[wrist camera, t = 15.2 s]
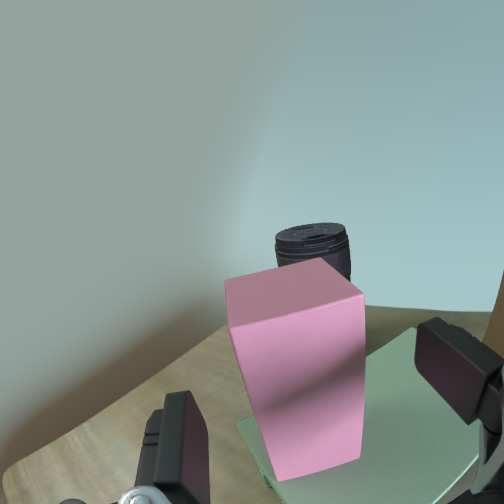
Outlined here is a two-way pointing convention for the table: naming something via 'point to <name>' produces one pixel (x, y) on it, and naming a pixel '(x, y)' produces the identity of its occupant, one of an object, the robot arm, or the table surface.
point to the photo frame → (496, 324)
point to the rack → (387, 441)
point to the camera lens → (315, 246)
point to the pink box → (301, 363)
